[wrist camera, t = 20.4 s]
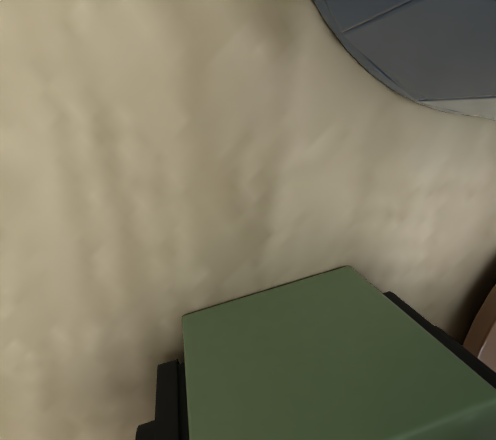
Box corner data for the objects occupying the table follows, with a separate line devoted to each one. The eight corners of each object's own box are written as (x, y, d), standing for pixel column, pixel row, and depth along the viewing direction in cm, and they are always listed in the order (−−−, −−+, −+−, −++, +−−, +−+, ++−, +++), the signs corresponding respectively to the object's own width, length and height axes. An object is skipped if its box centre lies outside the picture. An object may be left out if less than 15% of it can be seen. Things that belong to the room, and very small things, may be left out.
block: (364, 393, 12) (494, 579, 7) (222, 444, 11) (262, 690, 6) (349, 263, 10) (507, 395, 5) (180, 314, 9) (193, 518, 5)
